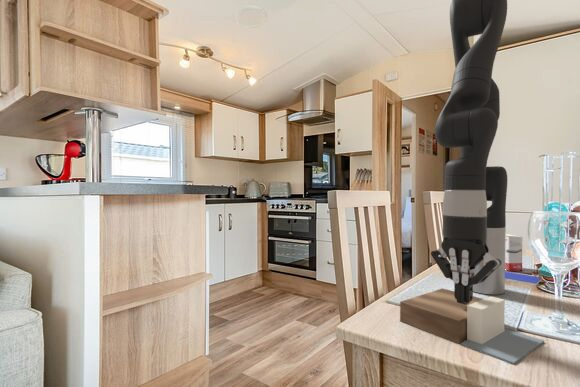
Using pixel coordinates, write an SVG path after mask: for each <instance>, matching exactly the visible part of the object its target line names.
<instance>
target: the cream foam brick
mask: <svg viewBox="0 0 580 387" xmlns="http://www.w3.org/2000/svg"><path fill="white" fill-rule="evenodd" d="M505 301H506V300H505V299H502V298H500V297H495V296H488V297H485V298H482V300H480V301H477V302H475V303H472V304H470V305H467V339H466V340H471V341H474V342H477V343H479V344H483V343H485V342H487V341H489V340H490V339H492V338H494V337H496V336H497V335H499V334H501V333H503V332H504V328H505V311H506V310H505Z"/></svg>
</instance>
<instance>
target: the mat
mask: <svg viewBox="0 0 580 387" xmlns="http://www.w3.org/2000/svg"><path fill="white" fill-rule="evenodd" d="M544 343H545V340H544V339H541V338H538V337H534V336H530V335H528V334H525V333H521V332H518V331H515V330H512V329H509V328H505V327H504V332H503V333H501V334H499V335H497V336H496V337H494V338H492V339H490V340H489V341H487V342H485V343H483V344H479V343H477V342H474V341H471V340H468V339H466V340H464V341H463V342H461V345H462V346H464V347H466V348H469V349H472V350H475V351H477V352H480V353H482V354H485V355H488V356H490V357H493V358H496V359H498V360H501V361H504V362H506V363H508V364H511V365H515V364H517V363H518V362H520V360H522V359H523V358H525V357H526V356H528V355H529V354H530V353H532V352H534V351H535V349H537V348H538V347H539V346H541V345H543V344H544Z"/></svg>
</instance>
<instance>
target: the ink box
mask: <svg viewBox="0 0 580 387" xmlns="http://www.w3.org/2000/svg"><path fill="white" fill-rule="evenodd" d="M505 239H506V241H505V269H506V270H505V271H507V270H508V271H507V272H521V271H520V270H522V271H523V236H519V235H515V234H510V233H506V236H505Z"/></svg>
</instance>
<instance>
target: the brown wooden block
mask: <svg viewBox="0 0 580 387" xmlns="http://www.w3.org/2000/svg"><path fill="white" fill-rule="evenodd" d="M482 299H483V298H482V297H478V296H474V295H473V299H472V301H470V303H469V304H466V305H464V304H461V303H457V299H455V296H454V290H452V289H451V290H450V289H446V288H443V287H442V288H440V289H436V290H433V291H430V292H427V293H423V294H420V295H417V296H415V297H411V298H407V299H404V300H402V301H400V302H399V306H400V307H399V308H400V310H399V322H402V323H404V324H406V325H409V326H410V327H411V326H412V327H415V328H417V329H419V330H422V331H425V332H427V333H430V334H433V335H435V336H438V337H441V338H443V339H446V340H449V341H451V342H454V343H456V344H462V342H464V341H466V340H468V339H467V305H470V304H472V303H475V302H477V301H480V300H482Z"/></svg>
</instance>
